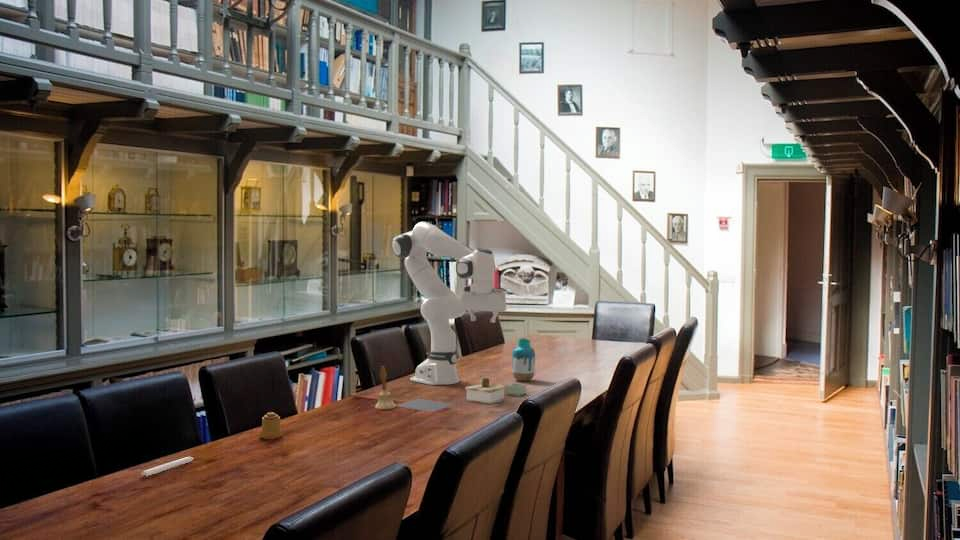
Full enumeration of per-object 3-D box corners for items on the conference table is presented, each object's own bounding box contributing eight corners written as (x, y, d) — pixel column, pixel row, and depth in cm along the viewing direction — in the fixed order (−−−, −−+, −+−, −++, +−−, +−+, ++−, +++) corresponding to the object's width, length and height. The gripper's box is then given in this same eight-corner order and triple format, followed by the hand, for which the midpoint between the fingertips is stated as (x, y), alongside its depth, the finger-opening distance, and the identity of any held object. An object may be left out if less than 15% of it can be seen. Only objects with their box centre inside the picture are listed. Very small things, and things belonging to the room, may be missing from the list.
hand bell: (392, 409, 308) (390, 368, 306) (371, 409, 309) (369, 368, 308) (399, 404, 316) (396, 364, 314) (378, 404, 317) (376, 364, 316)
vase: (535, 383, 365) (536, 341, 364) (511, 382, 365) (512, 340, 364) (534, 378, 376) (535, 337, 374) (511, 378, 376) (512, 337, 375)
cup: (506, 394, 339) (506, 385, 339) (513, 392, 344) (513, 383, 344) (518, 396, 336) (518, 387, 336) (525, 394, 341) (525, 384, 341)
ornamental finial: (283, 439, 265) (259, 440, 263) (282, 433, 273) (259, 434, 271) (283, 415, 265) (259, 416, 263) (282, 410, 272) (259, 411, 270)
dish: (466, 401, 325) (466, 389, 325) (481, 396, 335) (481, 384, 334) (489, 405, 320) (490, 392, 319) (504, 400, 329) (504, 387, 329)
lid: (464, 389, 325) (465, 379, 325) (480, 384, 335) (480, 374, 335) (490, 392, 319) (490, 382, 318) (505, 387, 329) (505, 378, 329)
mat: (394, 406, 314) (394, 405, 314) (418, 399, 327) (418, 398, 327) (432, 413, 304) (432, 411, 304) (455, 405, 318) (455, 404, 318)
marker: (191, 461, 240) (191, 453, 240) (196, 462, 239) (196, 454, 239) (141, 478, 224) (141, 469, 224) (146, 479, 223) (146, 470, 223)
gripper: (509, 289, 331) (508, 322, 332) (467, 286, 342) (466, 319, 342) (501, 290, 326) (500, 324, 326) (459, 287, 336) (458, 320, 337)
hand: (483, 321), depth 334 cm, fingers open, 8 cm apart
